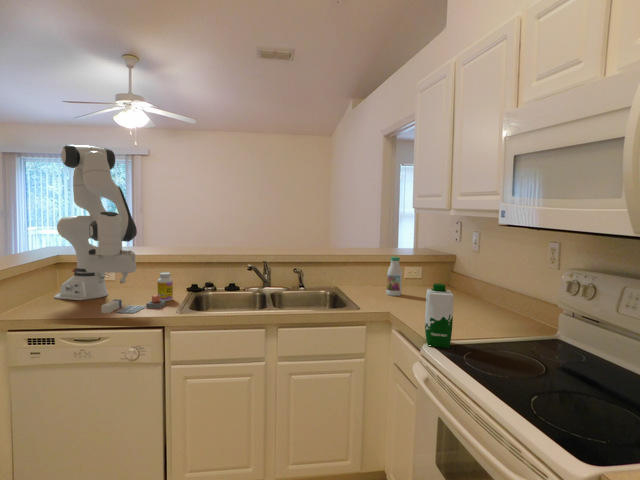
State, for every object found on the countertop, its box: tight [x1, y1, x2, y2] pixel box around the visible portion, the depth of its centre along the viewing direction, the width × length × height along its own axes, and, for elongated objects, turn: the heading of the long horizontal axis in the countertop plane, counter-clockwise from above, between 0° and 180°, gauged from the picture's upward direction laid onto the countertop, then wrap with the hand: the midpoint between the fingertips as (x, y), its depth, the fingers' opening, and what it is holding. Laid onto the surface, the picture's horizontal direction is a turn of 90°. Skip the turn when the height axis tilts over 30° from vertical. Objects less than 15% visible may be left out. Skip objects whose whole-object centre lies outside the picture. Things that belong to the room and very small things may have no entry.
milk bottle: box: [386, 256, 403, 297], centre depth 206 cm, size 8×8×20 cm
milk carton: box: [424, 283, 454, 349], centre depth 132 cm, size 9×9×20 cm
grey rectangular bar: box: [101, 298, 123, 314], centre depth 166 cm, size 10×3×3 cm, turn 179°
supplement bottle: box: [157, 272, 174, 302], centre depth 184 cm, size 7×7×13 cm
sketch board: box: [115, 305, 146, 314], centre depth 167 cm, size 8×11×1 cm
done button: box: [151, 294, 160, 303], centre depth 173 cm, size 3×3×3 cm
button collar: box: [145, 300, 167, 309], centre depth 173 cm, size 6×6×2 cm
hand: (111, 282), depth 165 cm, fingers open, 8 cm apart
